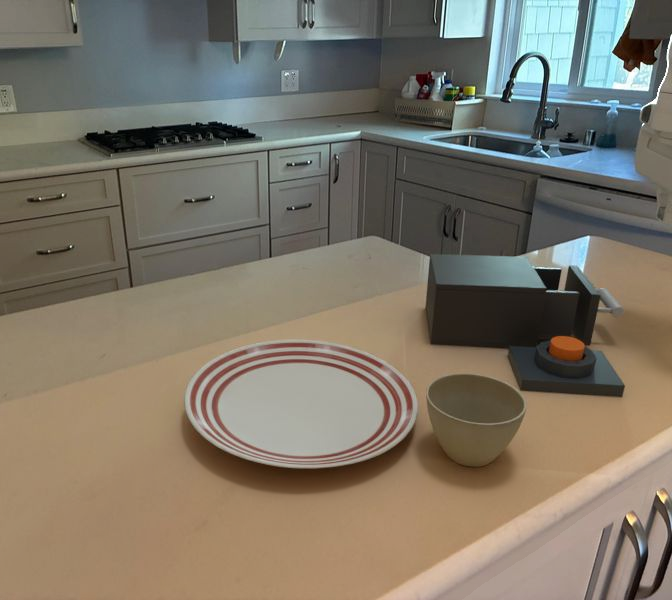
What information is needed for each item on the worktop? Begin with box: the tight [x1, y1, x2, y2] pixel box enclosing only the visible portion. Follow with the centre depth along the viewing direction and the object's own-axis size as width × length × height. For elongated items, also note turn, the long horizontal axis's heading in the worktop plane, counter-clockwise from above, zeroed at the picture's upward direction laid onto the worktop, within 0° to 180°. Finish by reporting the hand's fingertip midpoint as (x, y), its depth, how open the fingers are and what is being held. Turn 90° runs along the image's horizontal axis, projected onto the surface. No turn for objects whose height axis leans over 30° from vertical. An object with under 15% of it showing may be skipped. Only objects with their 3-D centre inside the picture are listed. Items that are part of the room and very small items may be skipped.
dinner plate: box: [183, 339, 419, 469], centre depth 74 cm, size 28×27×3 cm
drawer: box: [533, 264, 625, 347], centre depth 90 cm, size 18×11×8 cm, turn 81°
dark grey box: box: [424, 253, 547, 350], centre depth 92 cm, size 15×13×10 cm
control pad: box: [507, 339, 626, 398], centre depth 80 cm, size 12×9×4 cm
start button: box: [549, 336, 586, 361], centre depth 79 cm, size 4×4×2 cm
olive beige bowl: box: [425, 372, 528, 468], centre depth 65 cm, size 10×10×7 cm
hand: (665, 221), depth 83 cm, fingers closed
